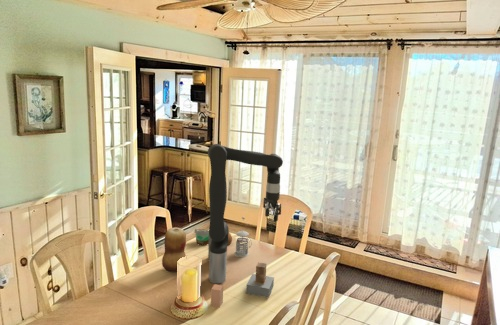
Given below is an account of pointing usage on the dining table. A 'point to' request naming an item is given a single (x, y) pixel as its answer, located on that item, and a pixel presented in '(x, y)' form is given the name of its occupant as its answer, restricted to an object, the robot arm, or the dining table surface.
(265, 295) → the slate plinth
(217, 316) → the dining table surface
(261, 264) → the walnut block
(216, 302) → the terracotta block
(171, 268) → the butternut squash
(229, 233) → the bread roll
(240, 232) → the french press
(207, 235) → the food container
